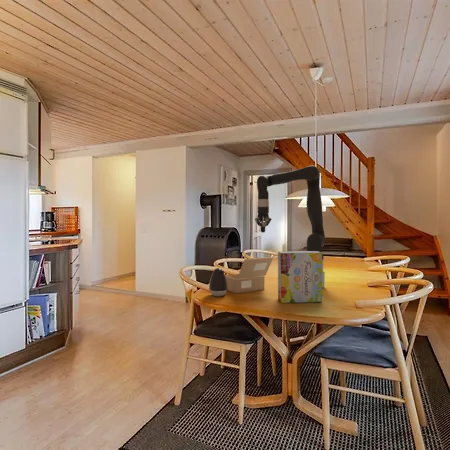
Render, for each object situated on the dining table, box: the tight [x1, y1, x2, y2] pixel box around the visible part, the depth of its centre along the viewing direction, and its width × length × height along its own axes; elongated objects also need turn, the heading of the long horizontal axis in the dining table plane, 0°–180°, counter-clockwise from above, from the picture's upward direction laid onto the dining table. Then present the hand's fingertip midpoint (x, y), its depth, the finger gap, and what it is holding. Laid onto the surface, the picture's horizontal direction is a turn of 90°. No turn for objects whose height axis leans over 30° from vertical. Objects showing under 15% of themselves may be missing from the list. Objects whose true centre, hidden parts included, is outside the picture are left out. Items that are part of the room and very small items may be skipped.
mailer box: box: [225, 273, 265, 294], centre depth 199 cm, size 14×20×8 cm
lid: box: [237, 256, 274, 279], centre depth 189 cm, size 14×20×1 cm
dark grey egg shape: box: [208, 267, 228, 297], centre depth 183 cm, size 10×10×15 cm
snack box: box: [277, 250, 323, 304], centre depth 172 cm, size 22×9×26 cm, turn 92°
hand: (263, 232), depth 220 cm, fingers closed
